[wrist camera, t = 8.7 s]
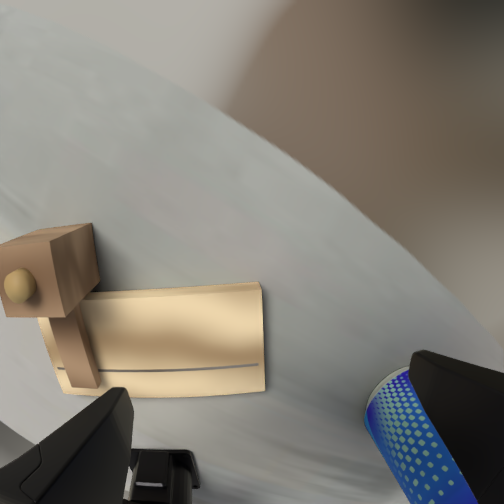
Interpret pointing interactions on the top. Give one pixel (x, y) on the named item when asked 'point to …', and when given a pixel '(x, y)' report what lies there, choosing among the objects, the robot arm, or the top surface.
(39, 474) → the robot arm
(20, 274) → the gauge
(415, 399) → the beer can
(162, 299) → the board
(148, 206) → the top surface
